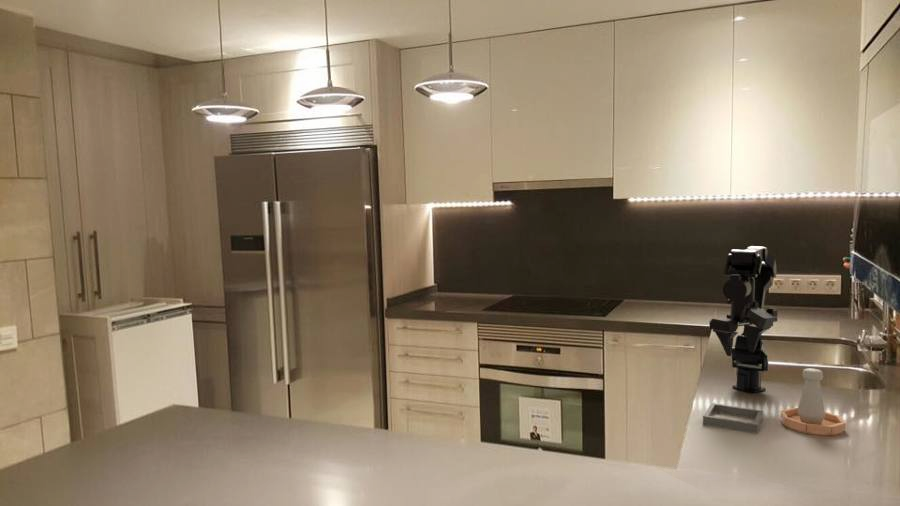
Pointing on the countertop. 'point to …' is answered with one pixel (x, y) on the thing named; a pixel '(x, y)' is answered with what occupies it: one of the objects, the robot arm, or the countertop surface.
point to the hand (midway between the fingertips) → (740, 354)
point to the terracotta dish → (826, 428)
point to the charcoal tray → (730, 423)
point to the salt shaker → (811, 398)
